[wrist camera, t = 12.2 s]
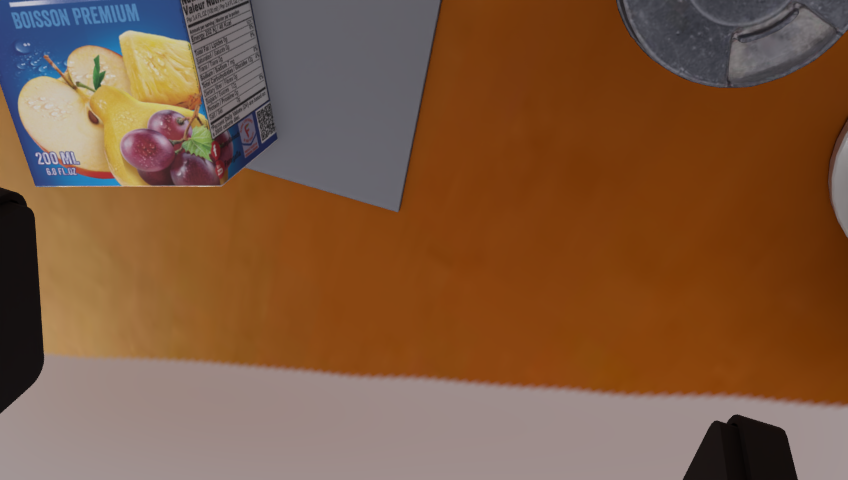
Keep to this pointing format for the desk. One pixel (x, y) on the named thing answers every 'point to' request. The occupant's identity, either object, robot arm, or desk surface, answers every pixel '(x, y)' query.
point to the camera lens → (734, 36)
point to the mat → (345, 91)
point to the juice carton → (135, 90)
